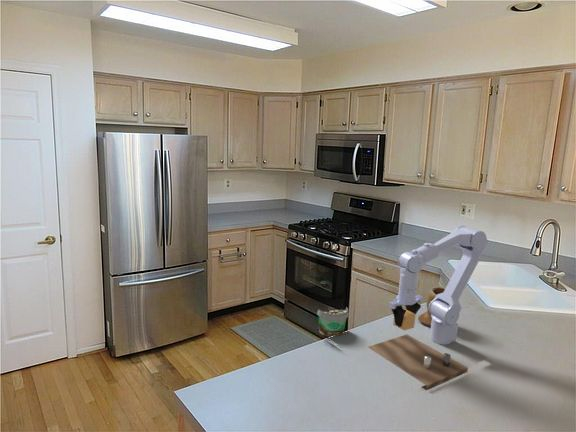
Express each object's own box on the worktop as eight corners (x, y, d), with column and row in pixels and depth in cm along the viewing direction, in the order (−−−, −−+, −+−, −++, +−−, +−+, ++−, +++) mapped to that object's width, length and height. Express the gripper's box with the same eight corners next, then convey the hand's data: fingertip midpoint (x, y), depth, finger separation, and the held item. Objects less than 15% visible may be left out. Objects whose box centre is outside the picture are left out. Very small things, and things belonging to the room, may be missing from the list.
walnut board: (406, 338, 146) (406, 334, 145) (467, 372, 125) (467, 367, 125) (367, 350, 135) (367, 346, 135) (426, 390, 114) (427, 385, 114)
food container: (321, 342, 139) (322, 316, 138) (315, 334, 145) (317, 309, 143) (352, 339, 143) (354, 313, 141) (345, 331, 149) (347, 306, 147)
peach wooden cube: (402, 321, 139) (404, 308, 139) (414, 327, 135) (415, 314, 134) (393, 324, 137) (394, 311, 136) (404, 330, 133) (405, 316, 132)
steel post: (425, 369, 125) (427, 355, 124) (430, 372, 124) (432, 358, 123) (421, 371, 124) (423, 356, 123) (426, 374, 122) (428, 359, 122)
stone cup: (440, 333, 151) (444, 296, 148) (413, 321, 160) (417, 287, 157) (459, 323, 160) (463, 289, 158) (433, 313, 169) (437, 280, 167)
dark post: (444, 366, 127) (446, 352, 126) (450, 369, 126) (451, 355, 125) (440, 368, 126) (442, 354, 125) (446, 371, 125) (448, 357, 124)
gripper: (412, 280, 141) (408, 315, 143) (384, 286, 133) (380, 323, 135) (428, 286, 135) (424, 323, 137) (399, 293, 127) (395, 332, 130)
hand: (403, 324), depth 136 cm, fingers closed on peach wooden cube, 5 cm apart
